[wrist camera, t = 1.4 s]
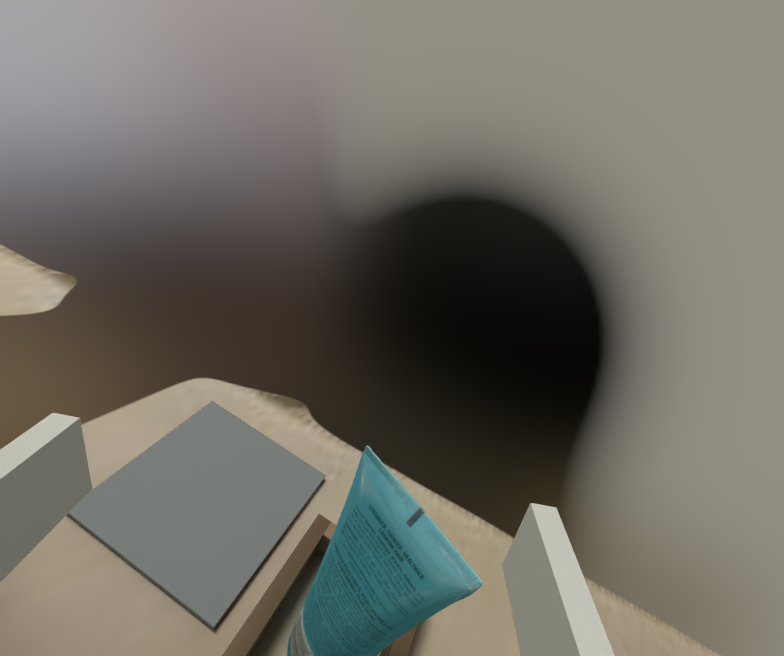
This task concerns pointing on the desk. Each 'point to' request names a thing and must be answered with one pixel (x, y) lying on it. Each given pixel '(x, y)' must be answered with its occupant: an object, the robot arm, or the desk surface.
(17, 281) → the desk surface
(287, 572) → the holder
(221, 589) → the mat
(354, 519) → the tube
